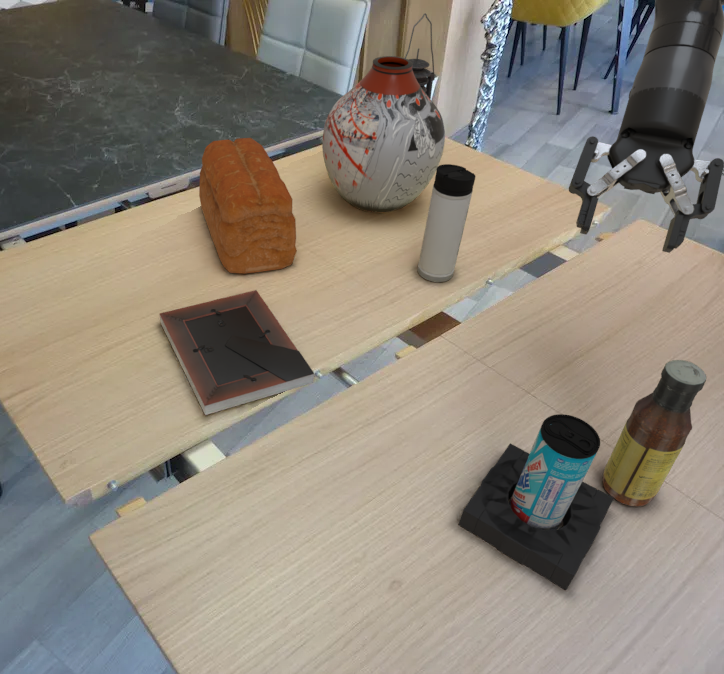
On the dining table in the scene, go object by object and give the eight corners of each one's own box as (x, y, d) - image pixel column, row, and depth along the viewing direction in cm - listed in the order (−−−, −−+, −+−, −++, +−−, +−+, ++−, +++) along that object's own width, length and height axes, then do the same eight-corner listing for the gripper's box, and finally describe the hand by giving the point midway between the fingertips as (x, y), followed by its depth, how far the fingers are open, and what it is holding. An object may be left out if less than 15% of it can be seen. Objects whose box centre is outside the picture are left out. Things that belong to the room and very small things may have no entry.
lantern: (407, 136, 162) (427, 2, 143) (438, 152, 156) (464, 14, 136) (368, 148, 157) (384, 11, 137) (399, 165, 150) (420, 24, 131)
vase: (422, 176, 146) (446, 43, 128) (440, 232, 129) (471, 87, 110) (316, 173, 146) (325, 40, 128) (320, 229, 129) (330, 83, 111)
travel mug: (408, 268, 119) (427, 164, 106) (438, 259, 122) (459, 156, 109) (430, 287, 115) (452, 181, 102) (460, 277, 117) (485, 172, 104)
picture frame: (313, 385, 96) (256, 300, 111) (314, 372, 95) (256, 288, 109) (205, 417, 91) (160, 324, 106) (204, 404, 89) (159, 312, 104)
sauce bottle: (659, 487, 83) (733, 372, 70) (642, 518, 80) (716, 403, 67) (607, 459, 87) (669, 344, 74) (588, 488, 83) (649, 373, 70)
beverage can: (529, 489, 83) (565, 406, 73) (568, 524, 79) (612, 441, 69) (496, 511, 80) (529, 428, 70) (535, 548, 77) (575, 465, 67)
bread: (263, 196, 138) (264, 126, 128) (300, 268, 119) (304, 191, 109) (197, 203, 135) (192, 132, 126) (223, 278, 116) (220, 201, 106)
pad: (607, 512, 80) (615, 497, 78) (566, 592, 72) (575, 577, 71) (503, 457, 87) (509, 441, 85) (456, 524, 79) (461, 509, 77)
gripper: (604, 74, 72) (562, 217, 71) (753, 96, 68) (709, 248, 67) (591, 106, 79) (553, 235, 78) (725, 127, 75) (686, 264, 74)
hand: (625, 241), depth 73 cm, fingers open, 8 cm apart
